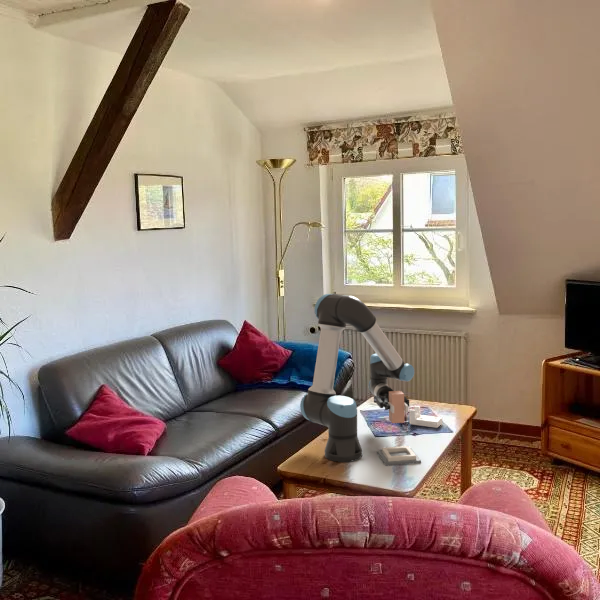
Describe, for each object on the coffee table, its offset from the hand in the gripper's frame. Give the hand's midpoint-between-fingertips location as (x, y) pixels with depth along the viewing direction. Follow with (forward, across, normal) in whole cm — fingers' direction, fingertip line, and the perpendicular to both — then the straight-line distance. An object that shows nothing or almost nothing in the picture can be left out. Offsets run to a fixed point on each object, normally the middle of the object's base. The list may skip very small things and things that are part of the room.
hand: (400, 409), depth 267 cm
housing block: (-5, 0, -6) cm, 8 cm away
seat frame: (+5, +2, -18) cm, 19 cm away
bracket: (-31, -21, -18) cm, 42 cm away
